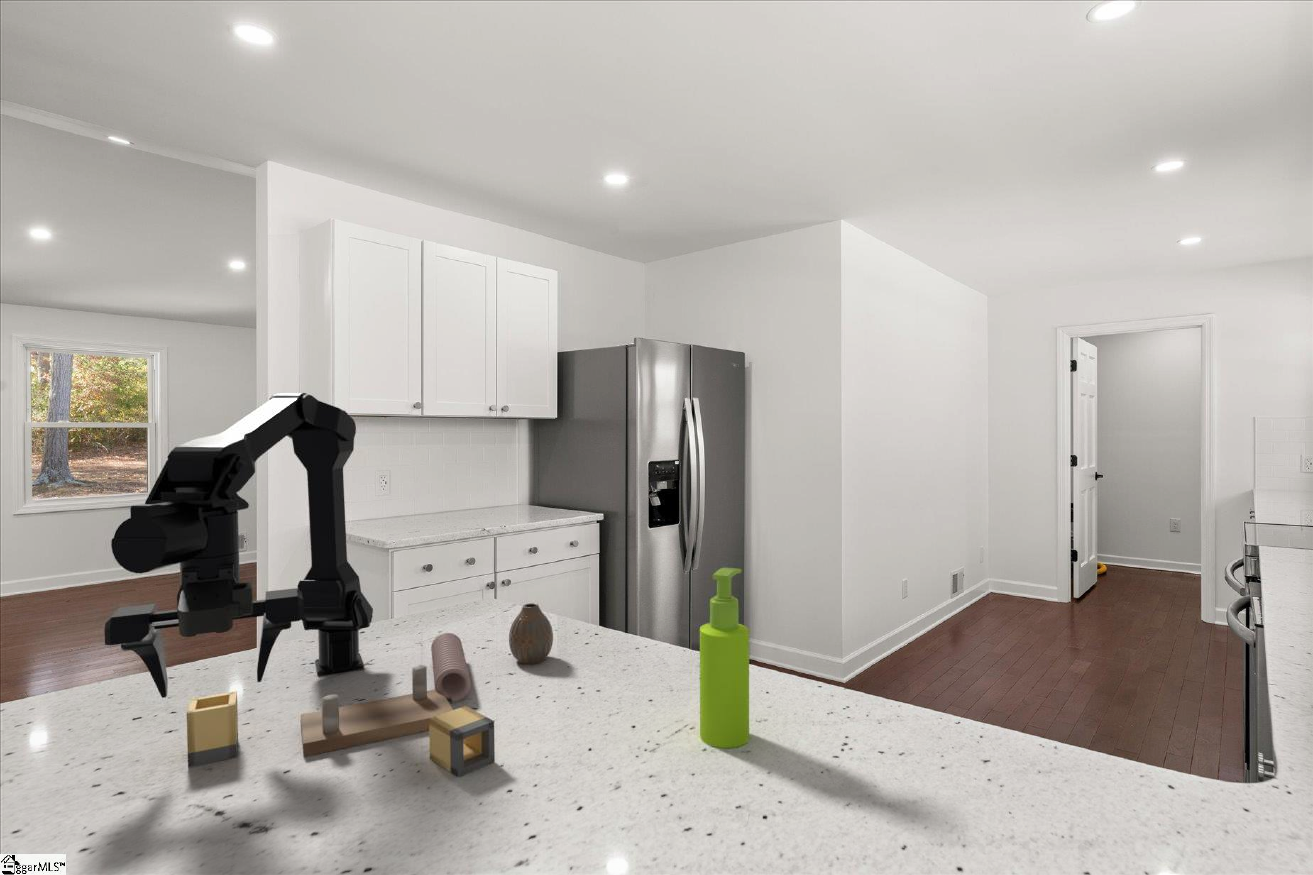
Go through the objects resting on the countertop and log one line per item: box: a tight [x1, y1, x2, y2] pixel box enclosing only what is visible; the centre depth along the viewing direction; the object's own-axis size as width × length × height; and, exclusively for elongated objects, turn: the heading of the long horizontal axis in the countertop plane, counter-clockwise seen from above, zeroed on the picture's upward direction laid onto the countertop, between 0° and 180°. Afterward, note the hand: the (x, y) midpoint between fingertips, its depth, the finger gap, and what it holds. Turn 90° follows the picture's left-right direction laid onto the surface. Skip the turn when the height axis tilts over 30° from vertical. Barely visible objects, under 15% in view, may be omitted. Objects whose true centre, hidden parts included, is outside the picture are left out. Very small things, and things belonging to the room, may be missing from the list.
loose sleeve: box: [186, 690, 239, 768], centre depth 80 cm, size 5×5×6 cm
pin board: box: [300, 665, 454, 758], centre depth 88 cm, size 9×17×6 cm, turn 119°
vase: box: [508, 602, 554, 665], centre depth 111 cm, size 7×7×9 cm
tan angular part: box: [428, 705, 496, 778], centre depth 79 cm, size 5×5×6 cm
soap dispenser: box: [699, 567, 750, 749], centre depth 84 cm, size 6×7×20 cm
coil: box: [430, 632, 471, 704], centre depth 103 cm, size 5×5×18 cm
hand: (213, 688), depth 80 cm, fingers open, 9 cm apart
